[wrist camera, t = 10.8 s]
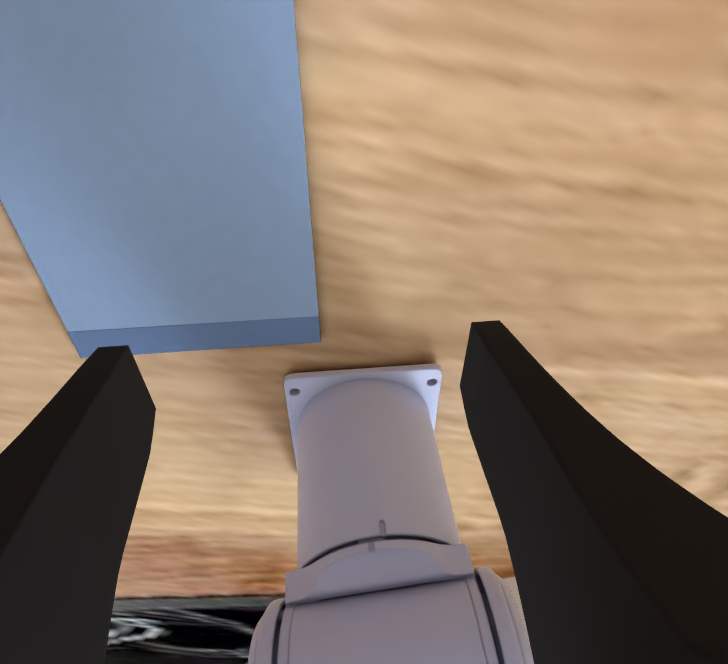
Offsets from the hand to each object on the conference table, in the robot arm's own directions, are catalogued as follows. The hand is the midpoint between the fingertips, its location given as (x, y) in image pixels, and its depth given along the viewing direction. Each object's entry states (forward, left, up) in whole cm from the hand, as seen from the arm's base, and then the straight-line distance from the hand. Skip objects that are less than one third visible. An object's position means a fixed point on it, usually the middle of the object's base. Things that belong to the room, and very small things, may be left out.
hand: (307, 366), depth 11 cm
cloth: (+1, +5, -10) cm, 12 cm away
